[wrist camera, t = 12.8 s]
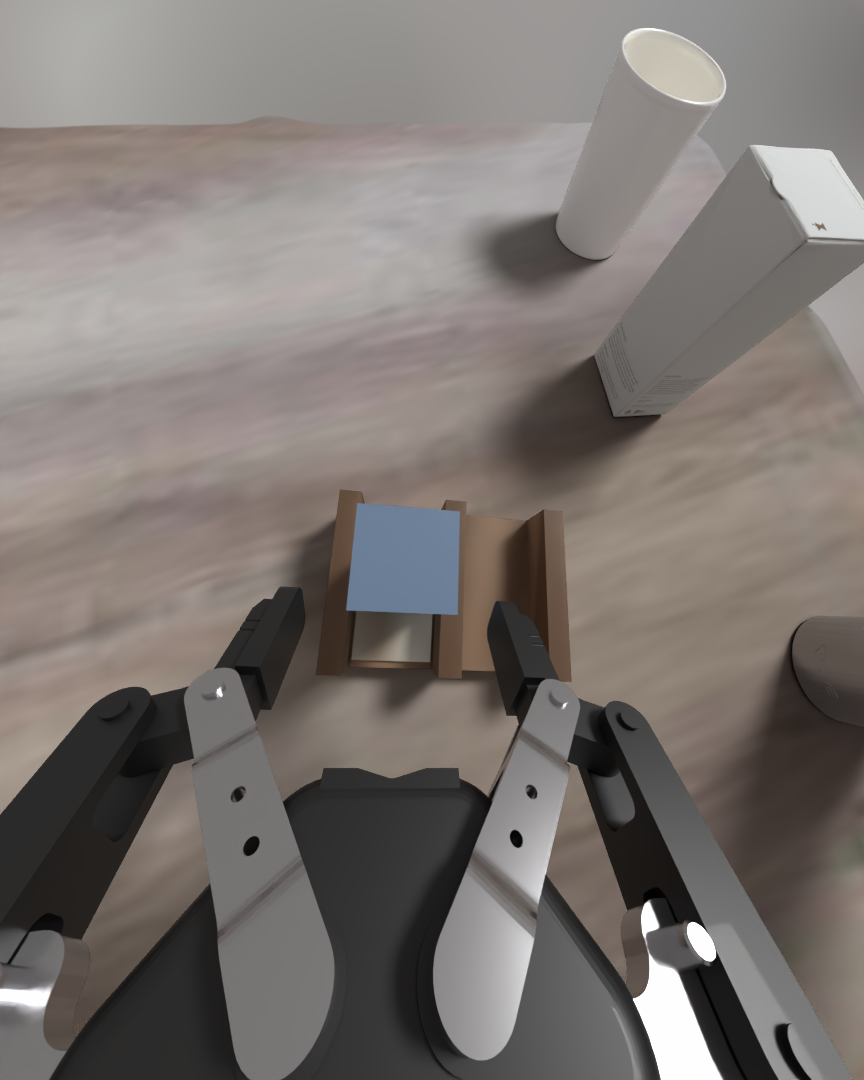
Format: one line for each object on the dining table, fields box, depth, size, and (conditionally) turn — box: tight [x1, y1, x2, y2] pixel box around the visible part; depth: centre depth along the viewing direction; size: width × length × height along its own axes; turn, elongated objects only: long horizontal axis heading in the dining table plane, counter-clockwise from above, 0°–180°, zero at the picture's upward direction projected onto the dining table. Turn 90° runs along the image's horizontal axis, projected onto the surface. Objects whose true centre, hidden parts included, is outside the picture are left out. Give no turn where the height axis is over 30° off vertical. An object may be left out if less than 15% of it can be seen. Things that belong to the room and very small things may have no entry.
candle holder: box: [556, 28, 726, 260], centre depth 31 cm, size 10×10×12 cm
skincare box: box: [594, 145, 864, 417], centre depth 25 cm, size 8×7×16 cm
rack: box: [316, 490, 571, 682], centre depth 23 cm, size 16×12×4 cm
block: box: [346, 503, 460, 615], centre depth 17 cm, size 4×4×12 cm
